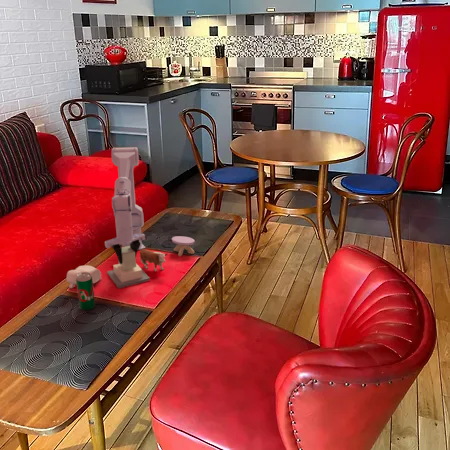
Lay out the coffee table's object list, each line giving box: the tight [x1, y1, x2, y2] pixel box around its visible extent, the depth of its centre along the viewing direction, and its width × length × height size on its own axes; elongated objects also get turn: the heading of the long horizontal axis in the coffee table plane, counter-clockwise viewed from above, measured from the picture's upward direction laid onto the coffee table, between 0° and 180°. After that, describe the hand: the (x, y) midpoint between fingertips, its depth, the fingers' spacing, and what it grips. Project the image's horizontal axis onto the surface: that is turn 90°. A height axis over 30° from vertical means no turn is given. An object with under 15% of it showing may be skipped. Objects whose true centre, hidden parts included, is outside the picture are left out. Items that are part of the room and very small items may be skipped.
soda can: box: [76, 272, 96, 311], centre depth 164 cm, size 5×5×12 cm
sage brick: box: [118, 246, 137, 270], centre depth 183 cm, size 6×4×6 cm
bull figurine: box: [139, 248, 168, 272], centre depth 191 cm, size 4×13×8 cm, turn 53°
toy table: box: [171, 235, 196, 257], centre depth 206 cm, size 10×9×6 cm
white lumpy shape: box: [65, 264, 102, 289], centre depth 178 cm, size 9×8×15 cm
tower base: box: [106, 263, 151, 289], centre depth 185 cm, size 13×12×4 cm
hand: (127, 261), depth 184 cm, fingers closed on sage brick, 4 cm apart
